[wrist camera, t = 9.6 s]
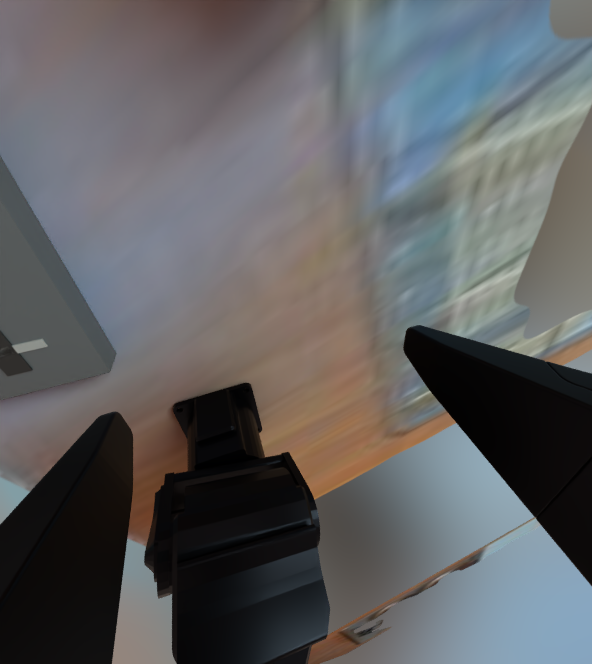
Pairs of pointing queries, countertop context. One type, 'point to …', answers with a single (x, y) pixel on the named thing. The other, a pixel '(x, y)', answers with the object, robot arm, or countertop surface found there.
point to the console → (41, 307)
